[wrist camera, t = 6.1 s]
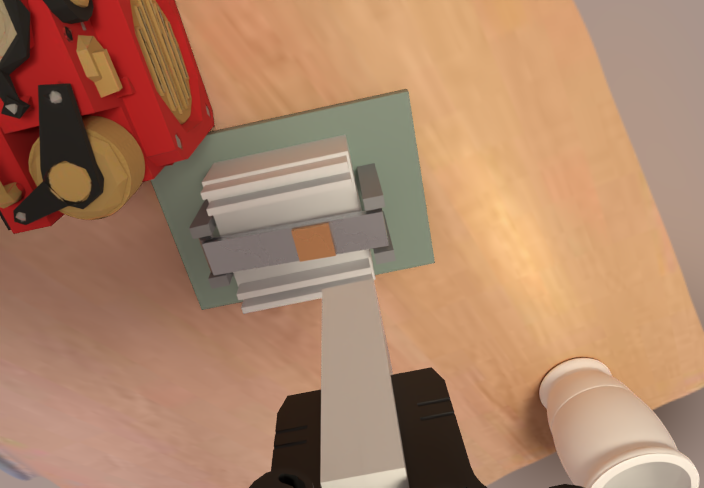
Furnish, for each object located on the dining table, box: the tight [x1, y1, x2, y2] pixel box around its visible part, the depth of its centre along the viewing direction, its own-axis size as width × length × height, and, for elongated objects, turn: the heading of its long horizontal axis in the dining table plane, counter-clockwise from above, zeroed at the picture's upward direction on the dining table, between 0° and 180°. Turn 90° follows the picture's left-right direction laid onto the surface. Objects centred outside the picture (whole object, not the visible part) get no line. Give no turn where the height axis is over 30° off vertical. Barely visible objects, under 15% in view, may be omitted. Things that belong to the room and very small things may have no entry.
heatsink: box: [151, 89, 435, 314], centre depth 46 cm, size 24×17×9 cm
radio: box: [0, 0, 214, 234], centre depth 35 cm, size 16×10×20 cm, turn 13°
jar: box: [539, 358, 699, 488], centre depth 55 cm, size 11×10×15 cm
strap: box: [198, 208, 389, 275], centre depth 43 cm, size 15×3×2 cm, turn 102°
